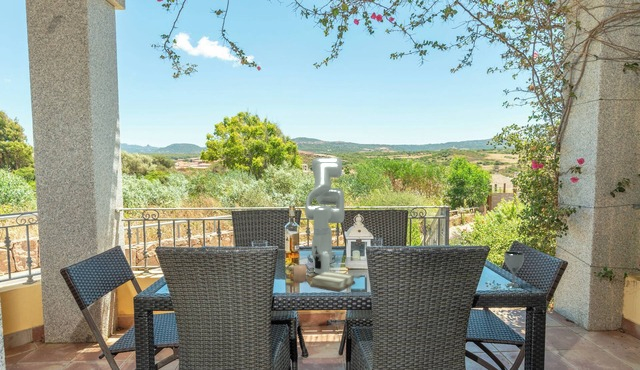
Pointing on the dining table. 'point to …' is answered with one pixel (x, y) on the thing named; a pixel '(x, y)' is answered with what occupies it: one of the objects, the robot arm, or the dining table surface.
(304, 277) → the tan short cylinder
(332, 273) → the beige ridged block
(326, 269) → the grey rounded block
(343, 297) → the dining table surface
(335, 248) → the dining table surface
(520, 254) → the wine glass
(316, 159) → the robot arm
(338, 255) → the dining table surface
